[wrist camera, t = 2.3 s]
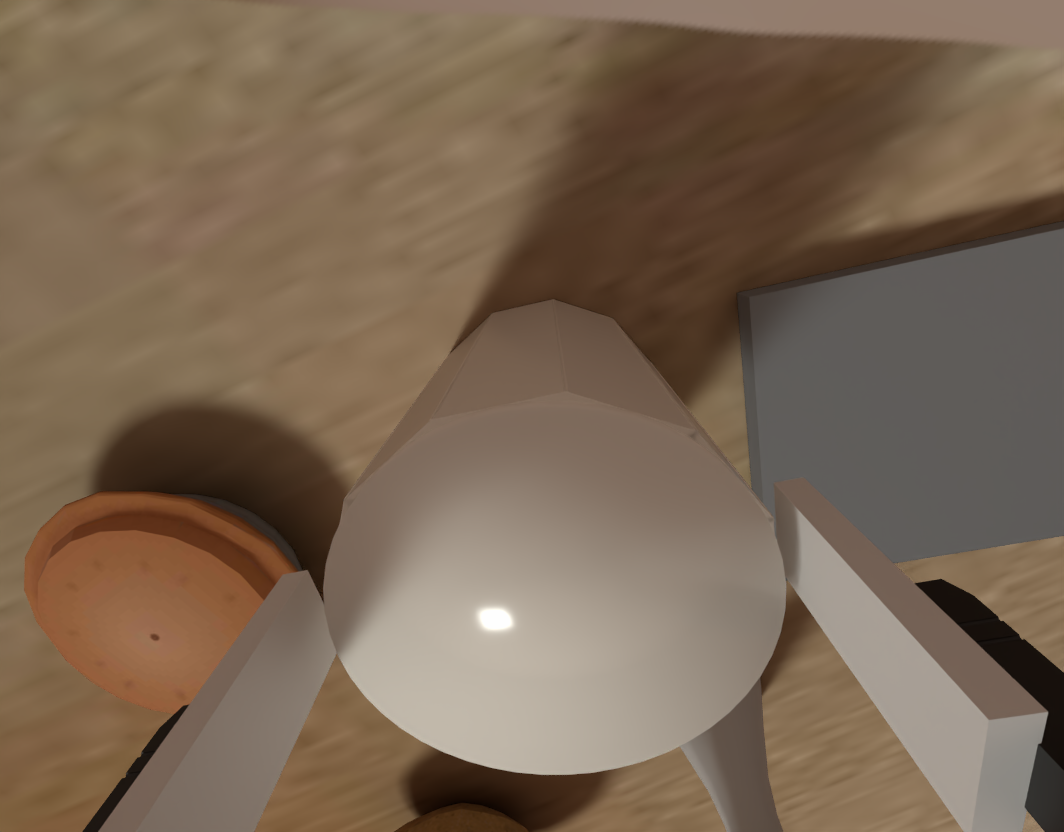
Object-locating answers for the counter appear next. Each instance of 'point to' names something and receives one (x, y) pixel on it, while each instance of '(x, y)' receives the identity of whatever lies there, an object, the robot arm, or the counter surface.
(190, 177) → the counter surface
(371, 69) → the counter surface
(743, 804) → the flask
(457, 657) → the white cylinder
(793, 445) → the slate board
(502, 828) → the potato
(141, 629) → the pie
